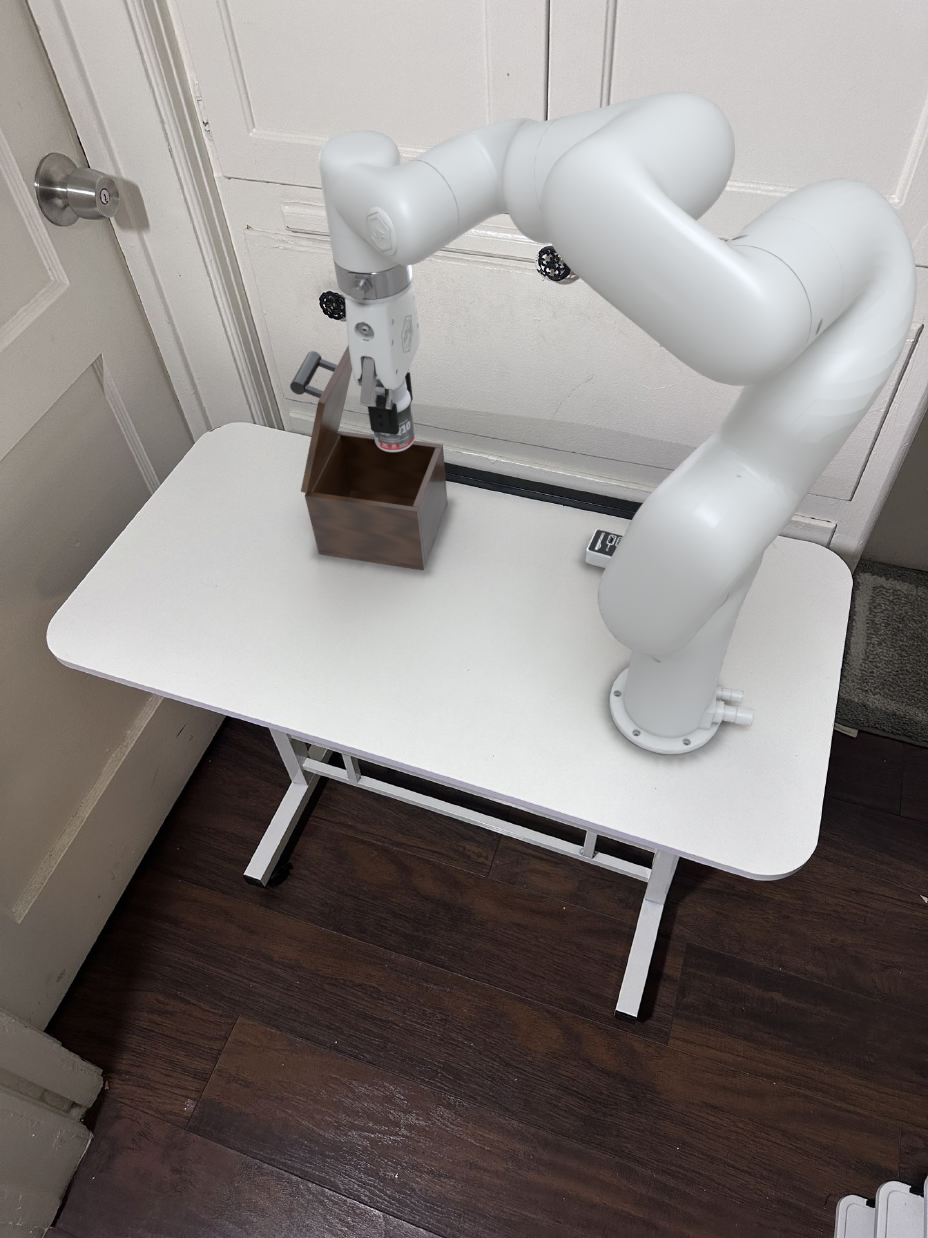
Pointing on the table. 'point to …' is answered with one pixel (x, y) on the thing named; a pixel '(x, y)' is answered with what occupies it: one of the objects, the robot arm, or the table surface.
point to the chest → (378, 501)
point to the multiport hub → (602, 547)
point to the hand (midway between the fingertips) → (392, 414)
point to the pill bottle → (405, 422)
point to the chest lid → (323, 407)
